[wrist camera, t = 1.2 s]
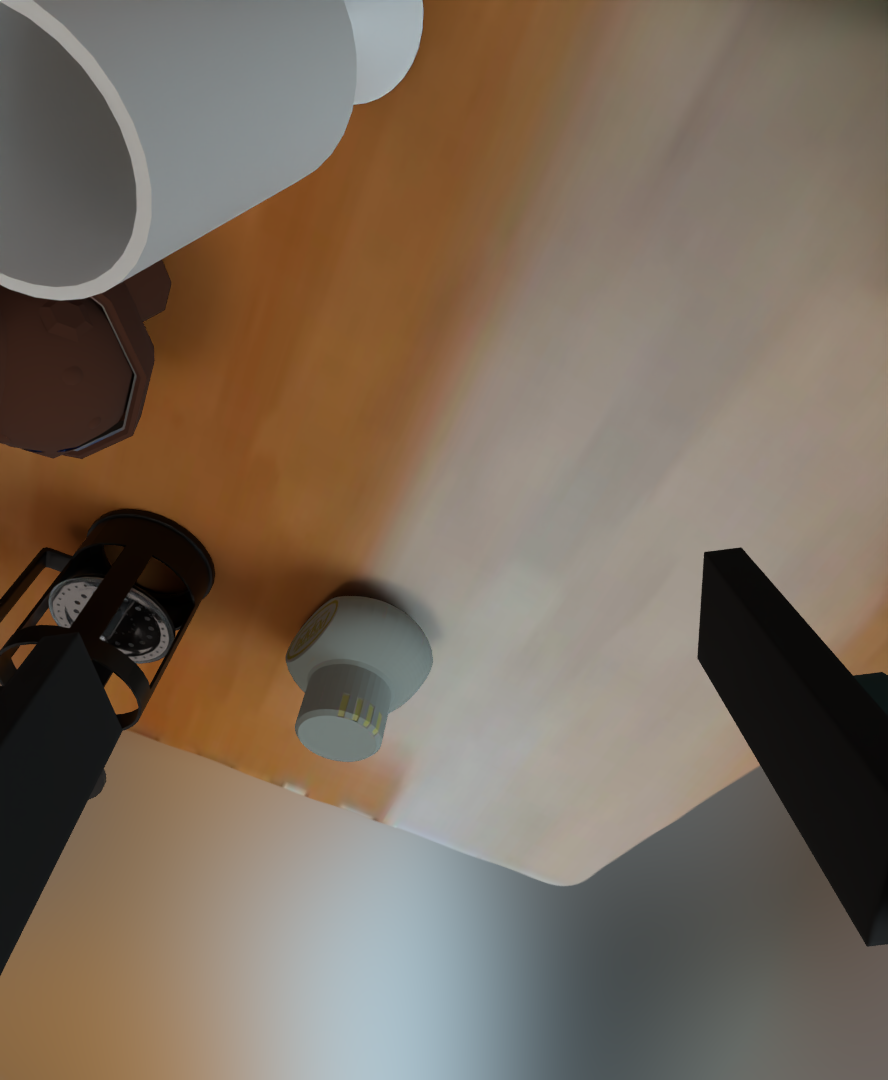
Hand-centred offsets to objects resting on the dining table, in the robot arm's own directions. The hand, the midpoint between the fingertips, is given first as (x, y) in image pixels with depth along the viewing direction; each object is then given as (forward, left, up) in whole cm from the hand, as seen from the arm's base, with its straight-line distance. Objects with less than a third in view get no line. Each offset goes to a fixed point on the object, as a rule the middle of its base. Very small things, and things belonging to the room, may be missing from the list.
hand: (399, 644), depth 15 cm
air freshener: (+30, +5, -26) cm, 40 cm away
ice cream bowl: (+11, -17, -26) cm, 33 cm away
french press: (+32, -12, -26) cm, 43 cm away
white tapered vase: (-5, -10, -26) cm, 28 cm away
